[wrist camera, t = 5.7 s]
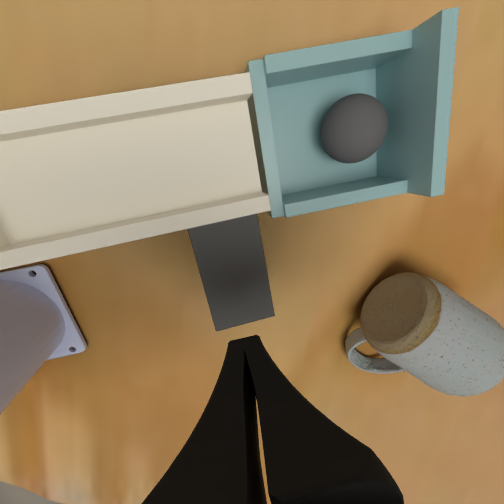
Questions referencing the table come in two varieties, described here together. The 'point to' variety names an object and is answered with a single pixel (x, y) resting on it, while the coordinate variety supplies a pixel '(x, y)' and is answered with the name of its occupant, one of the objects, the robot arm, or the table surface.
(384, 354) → the ceramic mug
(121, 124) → the cream piece
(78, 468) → the table surface
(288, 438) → the robot arm
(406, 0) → the table surface
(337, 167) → the bin
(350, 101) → the ball
